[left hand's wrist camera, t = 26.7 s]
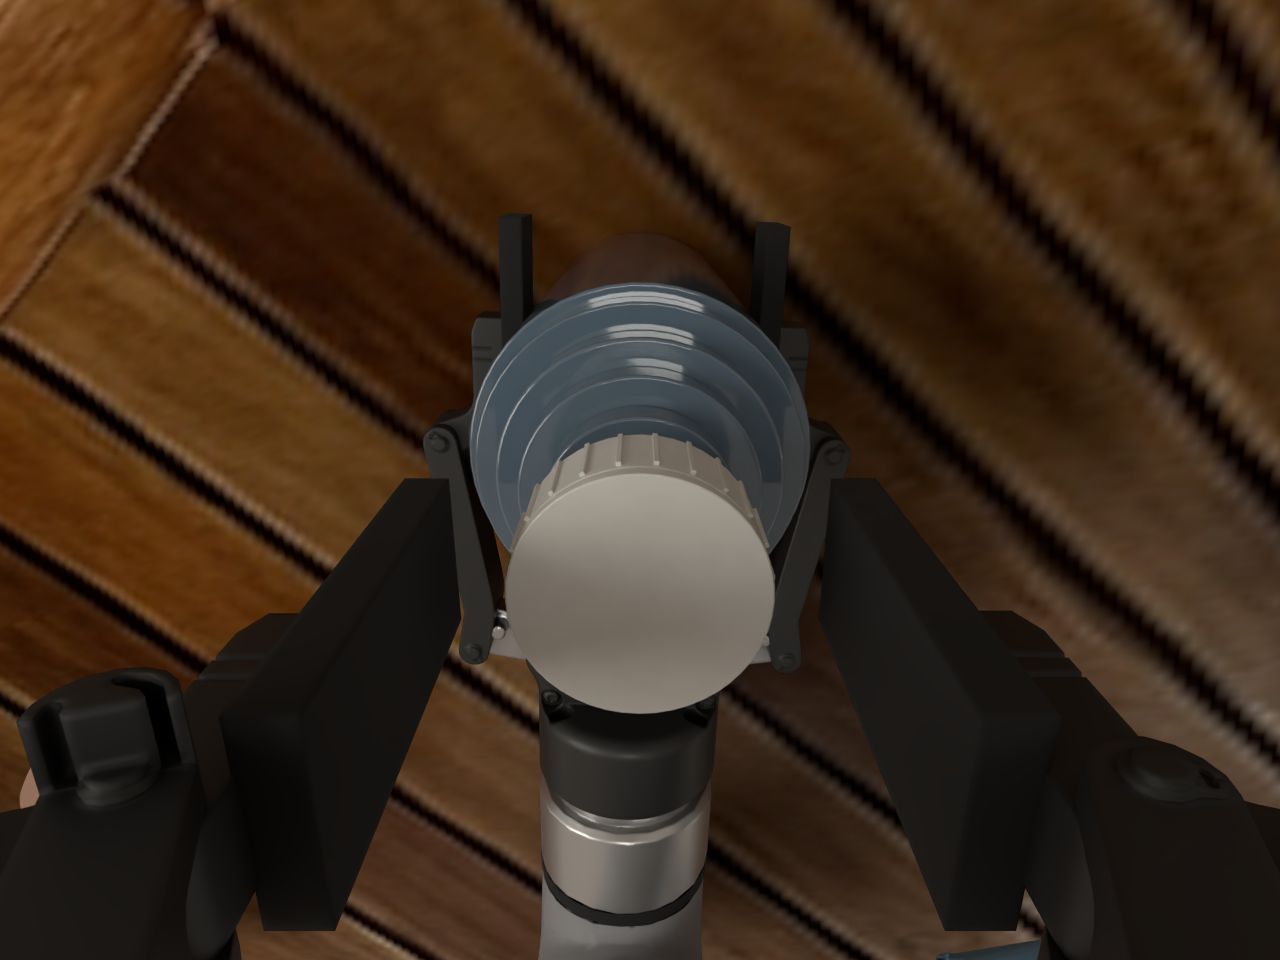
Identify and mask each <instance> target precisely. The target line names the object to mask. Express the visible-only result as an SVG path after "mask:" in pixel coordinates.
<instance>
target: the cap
mask: <svg viewBox="0 0 1280 960" xmlns="http://www.w3.org/2000/svg"><path fill="white" fill-rule="evenodd" d="M768 547H770V546H769V543H768V540H767V538H766V535H765V532H764V529H763V526H762V523H761V520H760V518H759V515H758V512H757V509H756V508H754V509H753V508H752V506H751V504H750V502H749V499H748V497H747V494H746V491H745V488H744V485H743V483H742V481H741V480H740V481H737V480H736V479H735V478H734V476H733V475H732V474H731V473H730V472H729V471H728V470H727V469H726V468H725V467H724V466H723V465H722V463H721V460H720V459H719V458H718V457H716V459H714V458H713V457H711V456H710V455H708V454H707V453H705V452H704V451H702V450H700V449H698V448H696V447H694V446H692V444H691V442H689V441H686V443H684V442H681V441H678V440H675V439H672V438H667V437H662V436H658V434H657V433H653V435H642V434H641V435H624V436H623V434H618V437H613V438H608V439H605V440H602V441H599V442H596V443H593V444H591V445H590V443H587V444H585V446H584V448H582V449H580V450H578V451H576V452H575V453H573V454H572V455H570V456H569V457H567V458H566V459H564V460H563V461H562V462H561V460H559V461H557V462H556V465H555V468H554V469H553V470H552V471H551V472H550V473H549V474H548V475H547V476H546V478H545V479H544V480H543V481H542V483H541V484H540V485H539V484H536V486H535V488H534V490H533V493H532V496H531V499H530V502H529V505H528V508H527V511H526V512H522V515H521V518H520V521H519V524H518V526H517V529H516V532H515V535H514V538H513V541H512V544H511V546H510V550H509V551H510V552H513V553H512V556H511V559H510V562H509V565H508V570H507V575H506V578H505V603H506V611H507V616H508V620H509V624H510V627H511V630H512V633H513V635H514V637H515V639H516V642H517V644H518V646H519V647H520V649H521V650H522V652H523V654H524V655H525V657H526V658H527V660H528V661H529V662H530V663H531V665H532V666H533V667H534V668H535V669H536V671H537V672H539V673H540V674H541V675H542V676H543V677H544V678H545V679H546V680H547V681H548V682H549V683H551V684H552V685H554V686H555V687H556V688H558V689H559V690H560V691H562V692H564V693H566V694H567V695H569V696H571V697H573V698H574V699H577V700H579V701H581V702H584V703H586V704H588V705H591V706H595V707H598V708H601V709H605V710H610V711H616V712H621V713H636V714H643V713H658V712H664V711H671V710H675V709H678V708H682V707H686V706H689V705H691V704H694V703H696V702H699V701H701V700H704V699H705V698H707V697H709V696H711V695H713V694H715V693H717V692H718V691H720V690H721V689H722V688H724V687H725V686H727V685H728V684H729V683H731V682H732V681H733V680H734V679H735V678H736V677H737V676H738V675H740V674H741V673H742V672H743V671H744V669H745V668H746V667H747V666H748V665H749V664H750V662H751V661H752V660H753V658H754V657H755V655H756V654H757V652H758V651H759V649H760V648H761V646H762V644H763V642H764V640H765V637H766V635H767V633H768V631H769V627H770V624H771V621H772V617H773V611H774V605H775V582H774V580H775V574H774V571H773V568H772V565H771V562H770V559H769V556H768V552H767V550H766V548H768Z"/></svg>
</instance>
